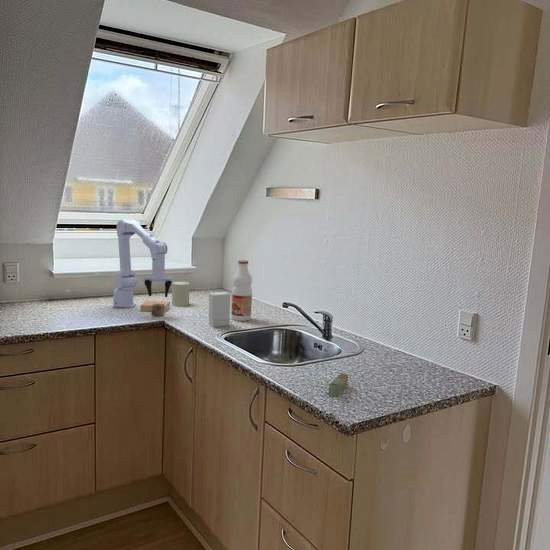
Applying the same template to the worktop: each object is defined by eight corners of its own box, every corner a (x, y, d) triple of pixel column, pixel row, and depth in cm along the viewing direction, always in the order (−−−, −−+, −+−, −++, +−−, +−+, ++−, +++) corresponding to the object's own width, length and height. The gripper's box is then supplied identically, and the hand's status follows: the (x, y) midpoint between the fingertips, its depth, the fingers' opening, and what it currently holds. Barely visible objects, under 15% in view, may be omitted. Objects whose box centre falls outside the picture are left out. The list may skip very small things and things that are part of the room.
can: (187, 306, 271) (188, 284, 269) (170, 305, 271) (170, 283, 269) (190, 303, 280) (191, 281, 278) (173, 302, 280) (174, 280, 278)
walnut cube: (151, 316, 247) (151, 305, 247) (153, 313, 252) (154, 303, 252) (161, 316, 247) (162, 306, 247) (164, 314, 252) (164, 304, 252)
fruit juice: (252, 321, 245) (254, 262, 241) (232, 321, 243) (234, 261, 239) (249, 316, 254) (251, 259, 250) (230, 316, 253) (232, 259, 248)
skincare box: (225, 323, 239) (226, 291, 237) (230, 326, 234) (231, 293, 232) (207, 324, 236) (208, 292, 234) (212, 327, 230) (213, 294, 228)
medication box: (336, 398, 155) (338, 385, 154) (328, 396, 156) (329, 383, 155) (347, 385, 166) (348, 373, 165) (339, 384, 167) (340, 372, 166)
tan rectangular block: (140, 311, 256) (140, 305, 255) (146, 306, 268) (146, 300, 267) (164, 312, 256) (164, 306, 255) (169, 307, 268) (169, 301, 267)
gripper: (140, 268, 243) (140, 297, 245) (172, 269, 243) (171, 298, 245) (144, 266, 250) (144, 294, 252) (175, 267, 250) (174, 295, 251)
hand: (158, 296), depth 248 cm, fingers open, 7 cm apart
